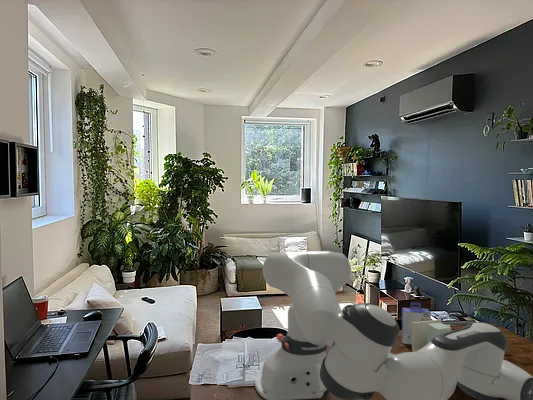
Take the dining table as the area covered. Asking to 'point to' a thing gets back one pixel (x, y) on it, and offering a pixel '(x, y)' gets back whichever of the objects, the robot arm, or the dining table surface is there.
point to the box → (436, 330)
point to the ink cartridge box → (412, 320)
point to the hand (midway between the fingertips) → (443, 345)
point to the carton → (420, 334)
